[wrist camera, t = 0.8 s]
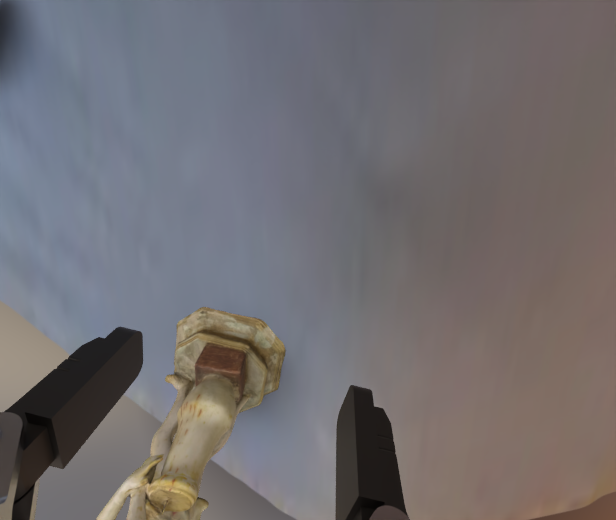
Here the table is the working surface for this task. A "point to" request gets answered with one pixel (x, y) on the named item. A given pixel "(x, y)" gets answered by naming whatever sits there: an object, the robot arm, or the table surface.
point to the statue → (201, 411)
